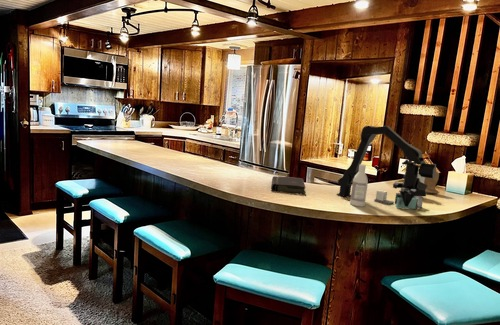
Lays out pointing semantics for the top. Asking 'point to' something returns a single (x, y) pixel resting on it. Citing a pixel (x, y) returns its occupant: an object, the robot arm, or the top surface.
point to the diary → (288, 184)
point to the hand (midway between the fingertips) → (406, 206)
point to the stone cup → (431, 184)
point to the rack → (419, 198)
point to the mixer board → (384, 201)
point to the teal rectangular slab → (401, 205)
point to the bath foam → (359, 187)
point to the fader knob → (381, 195)
